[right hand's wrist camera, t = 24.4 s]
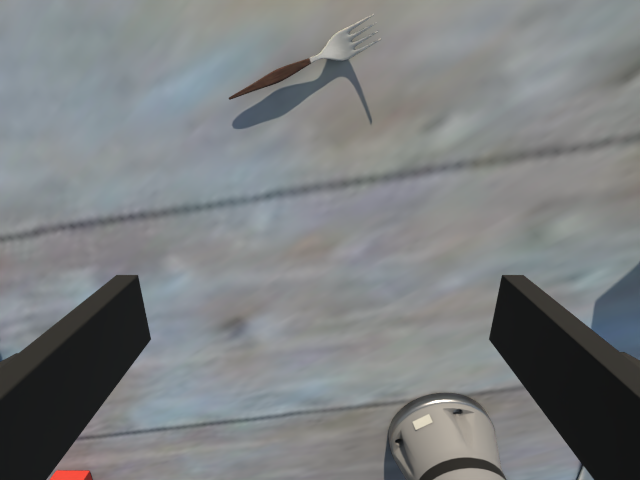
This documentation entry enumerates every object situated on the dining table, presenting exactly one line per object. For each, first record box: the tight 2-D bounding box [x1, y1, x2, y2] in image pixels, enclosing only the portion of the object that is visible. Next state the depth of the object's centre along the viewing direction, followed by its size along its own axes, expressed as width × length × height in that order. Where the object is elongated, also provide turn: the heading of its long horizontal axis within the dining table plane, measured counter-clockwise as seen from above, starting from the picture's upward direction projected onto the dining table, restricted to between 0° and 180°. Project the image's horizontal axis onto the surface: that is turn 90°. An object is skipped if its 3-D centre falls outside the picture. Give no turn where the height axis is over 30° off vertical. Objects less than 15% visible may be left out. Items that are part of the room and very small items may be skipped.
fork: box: [229, 14, 381, 100], centre depth 34 cm, size 3×16×2 cm, turn 113°
